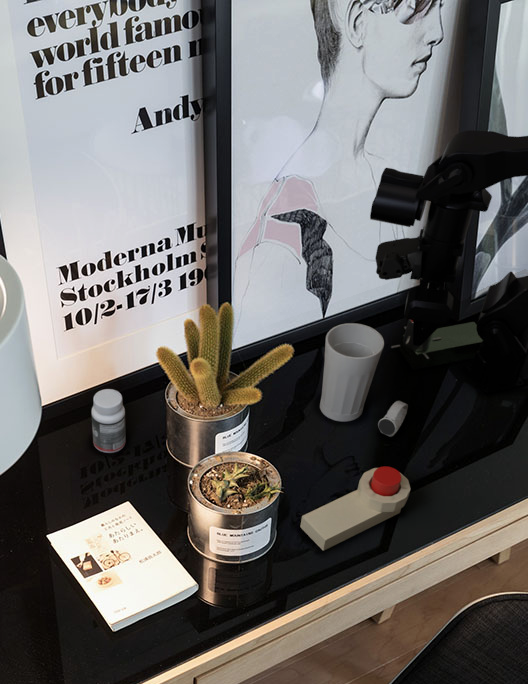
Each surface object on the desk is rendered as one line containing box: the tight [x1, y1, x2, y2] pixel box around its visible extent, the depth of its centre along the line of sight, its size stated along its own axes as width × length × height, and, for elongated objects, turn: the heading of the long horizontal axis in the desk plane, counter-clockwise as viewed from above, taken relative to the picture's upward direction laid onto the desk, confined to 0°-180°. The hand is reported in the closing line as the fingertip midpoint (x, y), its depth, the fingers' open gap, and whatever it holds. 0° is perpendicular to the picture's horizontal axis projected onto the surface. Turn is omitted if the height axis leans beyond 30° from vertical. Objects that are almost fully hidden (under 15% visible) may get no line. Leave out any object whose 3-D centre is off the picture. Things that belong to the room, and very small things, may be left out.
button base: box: [299, 467, 411, 552], centre depth 125 cm, size 15×6×4 cm, turn 121°
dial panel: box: [390, 321, 483, 371], centre depth 147 cm, size 15×8×3 cm, turn 105°
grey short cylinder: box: [377, 400, 409, 438], centre depth 135 cm, size 3×5×5 cm, turn 143°
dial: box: [403, 319, 432, 351], centre depth 143 cm, size 4×4×5 cm
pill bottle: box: [90, 388, 127, 454], centre depth 134 cm, size 5×5×8 cm
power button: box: [371, 466, 402, 496], centre depth 125 cm, size 4×4×2 cm
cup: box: [319, 322, 385, 422], centre depth 136 cm, size 8×8×12 cm
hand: (419, 326), depth 143 cm, fingers open, 9 cm apart
